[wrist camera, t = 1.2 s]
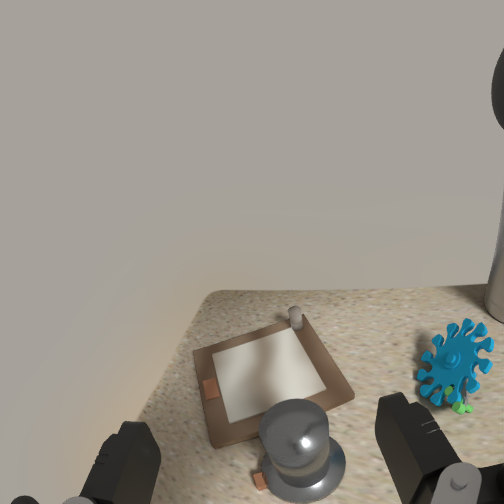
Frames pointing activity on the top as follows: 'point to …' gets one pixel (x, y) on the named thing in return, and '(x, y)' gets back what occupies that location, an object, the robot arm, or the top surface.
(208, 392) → the mount board
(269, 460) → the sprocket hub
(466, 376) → the gear
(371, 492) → the top surface
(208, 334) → the top surface
